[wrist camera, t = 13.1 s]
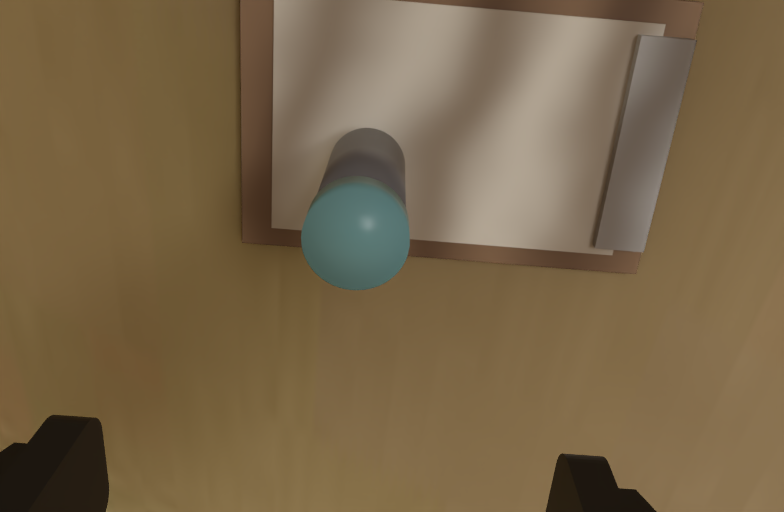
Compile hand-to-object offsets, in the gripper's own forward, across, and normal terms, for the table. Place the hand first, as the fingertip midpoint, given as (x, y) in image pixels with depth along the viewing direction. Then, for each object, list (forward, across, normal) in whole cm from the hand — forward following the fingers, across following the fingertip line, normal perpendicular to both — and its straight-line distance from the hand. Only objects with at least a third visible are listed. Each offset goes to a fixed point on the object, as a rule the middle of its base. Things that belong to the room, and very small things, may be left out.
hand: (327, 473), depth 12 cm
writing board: (+23, -4, -1) cm, 23 cm away
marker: (+22, 0, 0) cm, 22 cm away
